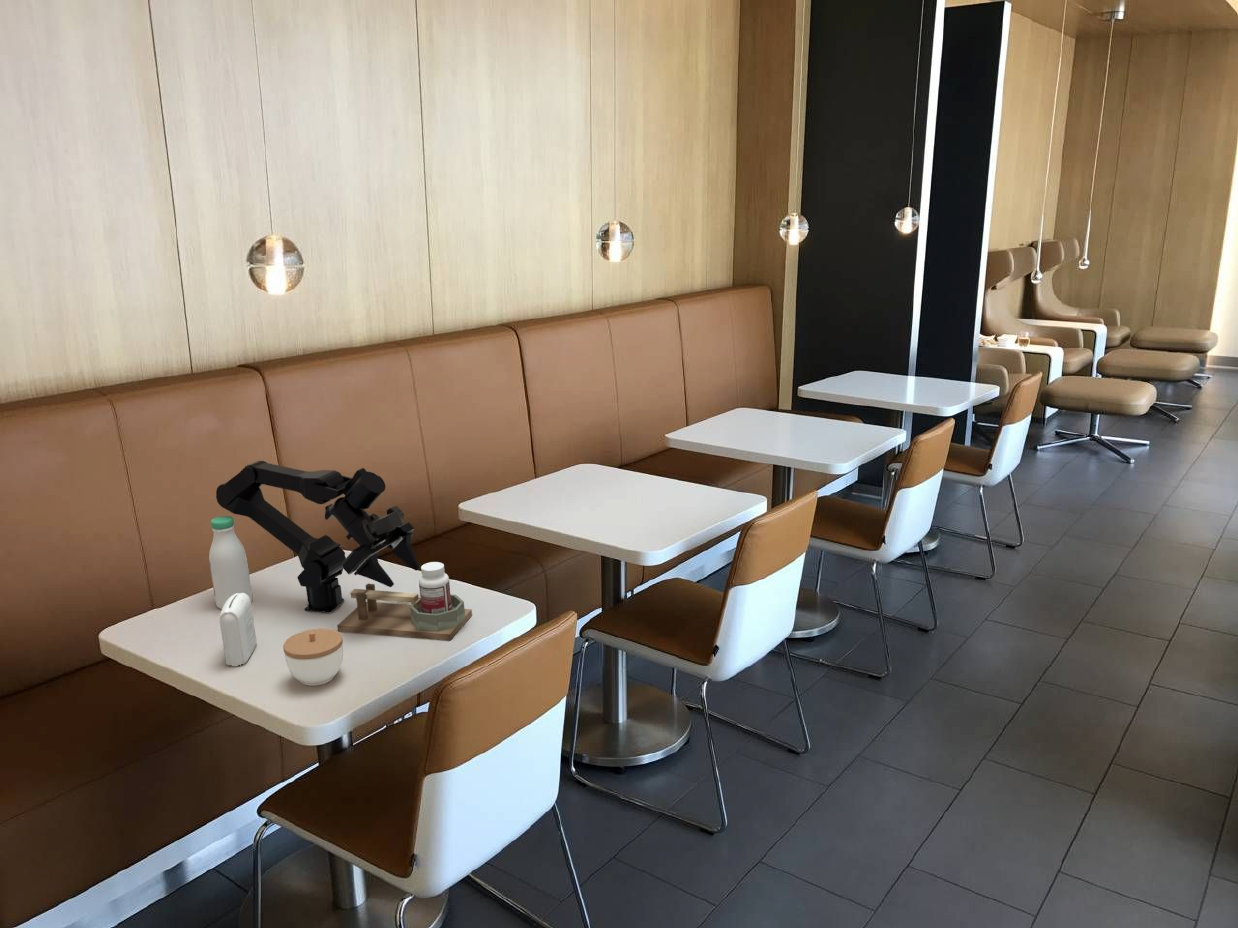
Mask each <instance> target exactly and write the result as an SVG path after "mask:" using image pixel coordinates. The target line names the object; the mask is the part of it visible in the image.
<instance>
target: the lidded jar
mask: <svg viewBox="0 0 1238 928" xmlns="http://www.w3.org/2000/svg"><path fill="white" fill-rule="evenodd" d="M343 642H344V639H343V635H342V634H341V632H339V631H338V630H334V629H330V628H314V629H308V630H304V631H300V632H298V633H295V634H293V635H292V636H290V637H288V638H287V639H285V641H284V643H283V645H282V646H283V647H282V649H283V652H284V658H285V662H286V665H287V668H288V670H289V673H290V674H291V675H292V677H294V679H296V680H297V681H298V682H300V683H301V682H302V683H303V684H302V683H301V684H302V685H304V684H305V686H307V685H308V687H315V686H316V687H317V686H322V685H324V684H327V683H329V682H331V681H332V680H333V679H334V678H335V676H336V674H338V672H339V670H340V669H341V667H342V665H343V661H344V645H343Z"/></svg>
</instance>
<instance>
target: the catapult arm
mask: <svg viewBox="0 0 1238 928" xmlns="http://www.w3.org/2000/svg"><path fill="white" fill-rule="evenodd" d="M358 592H363V593H365V597H366V600H367V599H372V600H376V601H388V602H400V603H411V604H410V605H411V606H410V610H411V621H412V623H413V624H414V625H415V626H416V627H417V628H418V629H419V630H428V631H441V630H445V629H449V628H452V627H456V626H458V625H459V624H460V623H461V622H462V620H463V619H464V618H465V609H466V608H465V601H464V600H463V599H461V597H459V596H458V595H457V594H452V593H450V595H451V605H452V610H450V611H446V612H443V613H439V614H430V613H422V608H421V598H420V595H419V593H416V592H415V593H414V592H404V591H403V592H401V591H391V590H390V591H389V590H377V589H375V590H370V589H366V588H365V589H363V588H362V589H361V588H354V589H353V590H351V591H350V593H349V595H350V598H351V599H356V593H358Z"/></svg>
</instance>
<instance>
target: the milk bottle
mask: <svg viewBox="0 0 1238 928" xmlns="http://www.w3.org/2000/svg"><path fill="white" fill-rule="evenodd" d="M210 525H211V530H212V532H213V538H212V541H211V545H210V548H209V555H208V557H209V561H208V562H209V568H210V575H211V582H212V587H213V593H214V594H213V595H214V600H215V604H216V606H217V608H218V609H220V610H222V608H223V606H224V604H225V603H226V601H227V600H228V599H229V598H230V597H231V596H232V595H234V594H236V593H245V594H247V595H248V596H249V598H250V600H251V603H252V601H253V593H252V592H253V590H252V584H251V578H250V571H249V564H248V559H247V554H246V549H245V547H244V545H243V544H242V542H241V541H240V539H239V538H238V536H237V535H236V533H235V521H234V518H233V517H232V516H230V515H229V516H228V515H222V516H218V517H214V518H213V519H211V522H210Z"/></svg>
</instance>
